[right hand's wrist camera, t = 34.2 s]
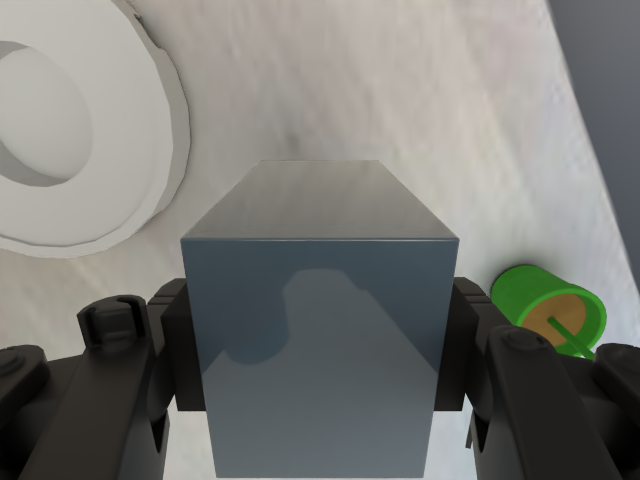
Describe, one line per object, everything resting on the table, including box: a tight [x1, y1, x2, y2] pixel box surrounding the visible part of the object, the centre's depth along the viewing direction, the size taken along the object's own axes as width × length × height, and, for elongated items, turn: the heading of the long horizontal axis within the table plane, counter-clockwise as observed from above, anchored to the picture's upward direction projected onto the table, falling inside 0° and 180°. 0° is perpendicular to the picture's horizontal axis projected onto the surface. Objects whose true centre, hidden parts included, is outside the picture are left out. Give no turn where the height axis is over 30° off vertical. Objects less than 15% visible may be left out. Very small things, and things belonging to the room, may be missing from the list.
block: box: [180, 160, 459, 478], centre depth 13 cm, size 7×6×10 cm
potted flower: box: [491, 265, 607, 360], centre depth 25 cm, size 9×8×25 cm
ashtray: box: [0, 0, 191, 259], centre depth 29 cm, size 23×23×4 cm
